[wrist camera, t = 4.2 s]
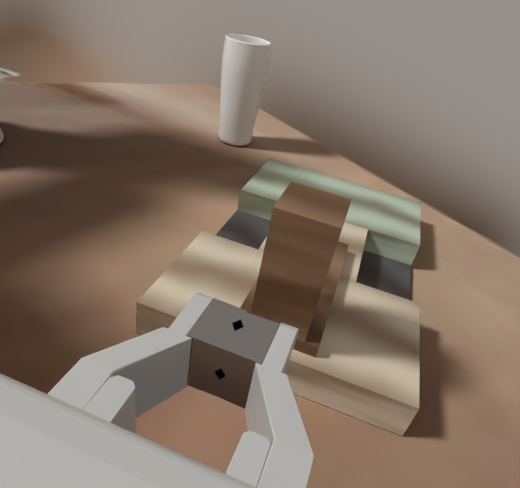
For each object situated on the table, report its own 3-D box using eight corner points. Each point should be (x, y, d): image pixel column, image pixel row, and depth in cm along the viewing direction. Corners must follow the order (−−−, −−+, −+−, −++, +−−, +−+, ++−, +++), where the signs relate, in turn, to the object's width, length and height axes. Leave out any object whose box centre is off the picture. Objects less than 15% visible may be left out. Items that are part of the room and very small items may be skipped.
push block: (315, 357, 28) (359, 234, 23) (233, 326, 29) (256, 201, 24) (345, 253, 40) (380, 154, 34) (285, 233, 41) (310, 134, 35)
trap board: (402, 436, 28) (419, 408, 26) (136, 331, 32) (136, 302, 30) (411, 222, 54) (420, 202, 53) (265, 178, 58) (269, 158, 56)
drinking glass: (204, 135, 67) (215, 32, 59) (237, 131, 72) (251, 34, 63) (230, 151, 64) (245, 44, 55) (263, 146, 68) (282, 45, 60)
